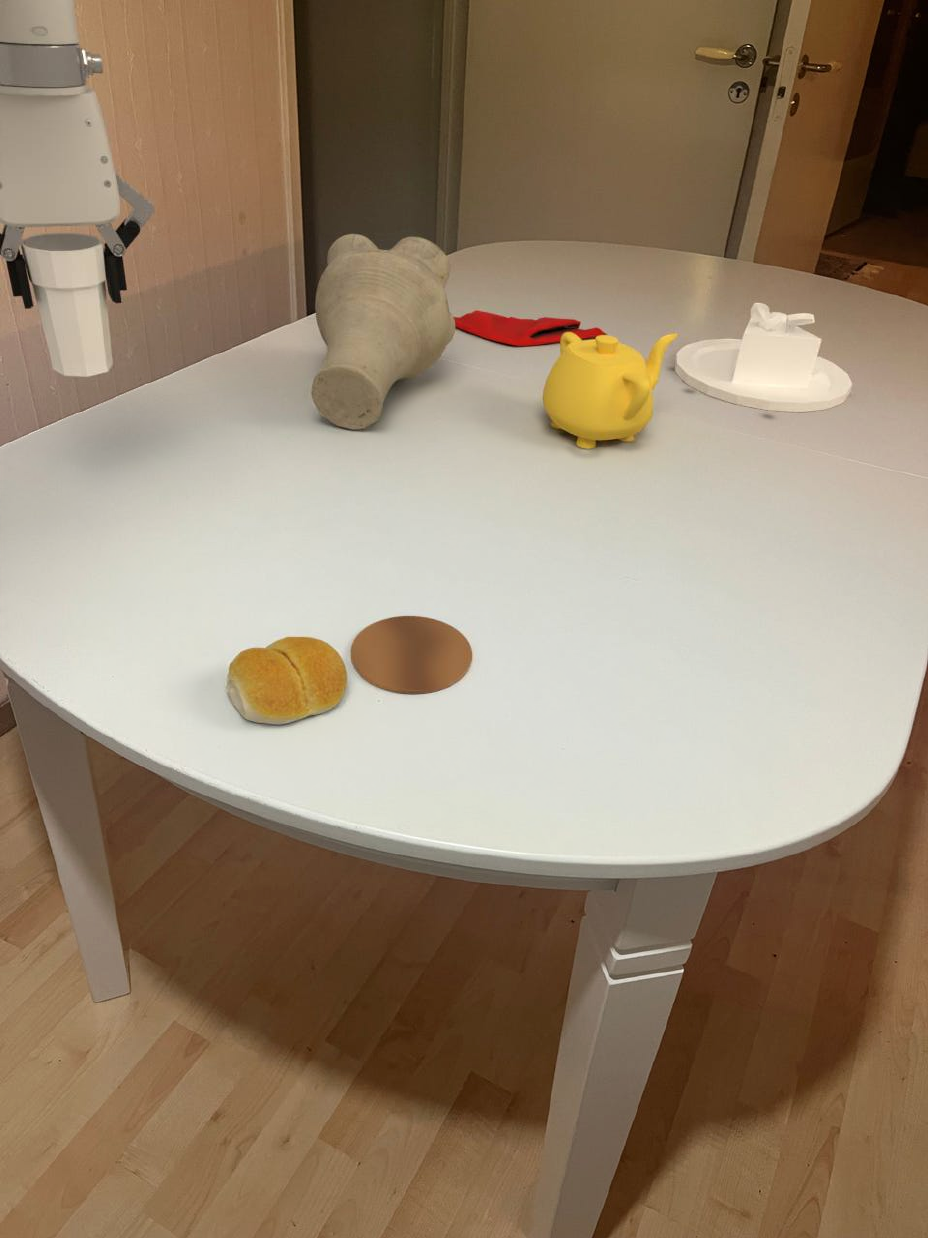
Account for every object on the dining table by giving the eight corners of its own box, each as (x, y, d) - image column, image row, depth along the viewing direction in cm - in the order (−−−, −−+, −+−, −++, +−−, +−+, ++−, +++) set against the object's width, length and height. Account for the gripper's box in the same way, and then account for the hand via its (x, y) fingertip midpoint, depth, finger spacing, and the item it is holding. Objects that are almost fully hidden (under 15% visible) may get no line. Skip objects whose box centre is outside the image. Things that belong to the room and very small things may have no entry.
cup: (28, 371, 84) (2, 243, 77) (76, 349, 89) (55, 228, 83) (90, 384, 82) (69, 255, 76) (135, 362, 87) (119, 239, 81)
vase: (430, 359, 96) (483, 229, 113) (229, 301, 95) (313, 180, 113) (404, 506, 112) (453, 373, 130) (232, 457, 112) (305, 331, 130)
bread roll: (364, 704, 71) (364, 663, 69) (254, 742, 67) (250, 700, 65) (318, 645, 77) (317, 606, 74) (213, 677, 72) (208, 637, 70)
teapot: (647, 465, 108) (666, 368, 101) (528, 443, 111) (539, 347, 104) (660, 420, 119) (679, 329, 112) (552, 401, 122) (563, 311, 115)
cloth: (425, 332, 141) (426, 317, 139) (453, 307, 151) (454, 293, 150) (593, 360, 135) (595, 345, 134) (609, 332, 146) (612, 318, 145)
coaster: (375, 706, 71) (375, 702, 71) (334, 632, 78) (334, 629, 78) (492, 677, 75) (492, 674, 74) (442, 610, 82) (442, 606, 82)
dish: (875, 416, 125) (903, 334, 118) (691, 405, 124) (710, 321, 117) (818, 352, 145) (840, 278, 138) (660, 342, 144) (674, 267, 137)
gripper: (139, 67, 78) (164, 284, 88) (-94, 59, 71) (-38, 295, 82) (155, 77, 73) (180, 307, 83) (-95, 70, 66) (-35, 321, 76)
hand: (72, 299), depth 82 cm, fingers closed on cup, 6 cm apart
